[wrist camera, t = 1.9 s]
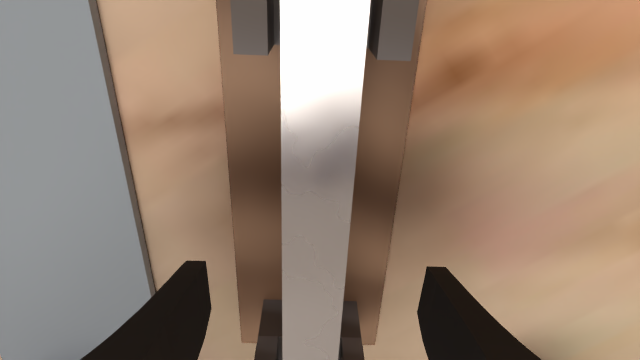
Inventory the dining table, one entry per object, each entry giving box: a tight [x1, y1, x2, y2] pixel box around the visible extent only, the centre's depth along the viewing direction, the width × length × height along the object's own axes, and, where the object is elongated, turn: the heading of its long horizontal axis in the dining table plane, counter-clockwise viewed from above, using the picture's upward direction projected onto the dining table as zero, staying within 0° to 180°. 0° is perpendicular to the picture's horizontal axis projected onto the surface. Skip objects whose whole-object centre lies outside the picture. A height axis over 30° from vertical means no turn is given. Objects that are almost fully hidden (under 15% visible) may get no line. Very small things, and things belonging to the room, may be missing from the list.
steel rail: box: [280, 0, 371, 360], centre depth 15 cm, size 23×2×2 cm, turn 178°
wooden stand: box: [216, 0, 427, 360], centre depth 17 cm, size 21×8×6 cm, turn 178°
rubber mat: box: [0, 0, 156, 360], centre depth 19 cm, size 26×10×1 cm, turn 178°
